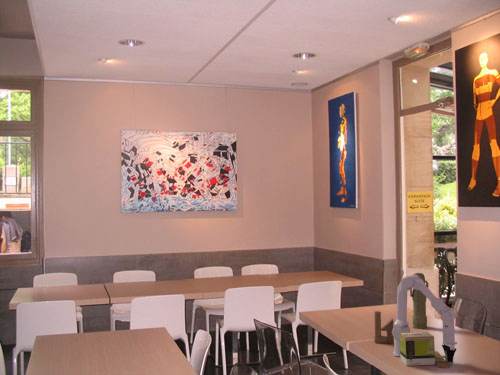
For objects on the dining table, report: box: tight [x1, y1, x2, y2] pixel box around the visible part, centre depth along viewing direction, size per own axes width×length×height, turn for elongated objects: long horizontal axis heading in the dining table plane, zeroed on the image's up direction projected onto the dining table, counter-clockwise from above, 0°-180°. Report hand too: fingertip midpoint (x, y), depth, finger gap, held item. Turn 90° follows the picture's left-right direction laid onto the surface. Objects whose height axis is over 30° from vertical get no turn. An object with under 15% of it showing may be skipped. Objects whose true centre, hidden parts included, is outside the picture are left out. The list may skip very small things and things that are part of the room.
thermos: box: [409, 272, 429, 330], centre depth 360 cm, size 9×12×35 cm
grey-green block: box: [438, 351, 454, 366], centre depth 282 cm, size 4×7×6 cm, turn 84°
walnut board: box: [435, 350, 450, 369], centre depth 287 cm, size 24×5×2 cm, turn 174°
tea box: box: [400, 331, 436, 367], centre depth 284 cm, size 15×10×15 cm, turn 92°
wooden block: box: [373, 310, 394, 344], centre depth 324 cm, size 4×11×18 cm, turn 85°
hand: (449, 360), depth 282 cm, fingers closed on grey-green block, 3 cm apart
